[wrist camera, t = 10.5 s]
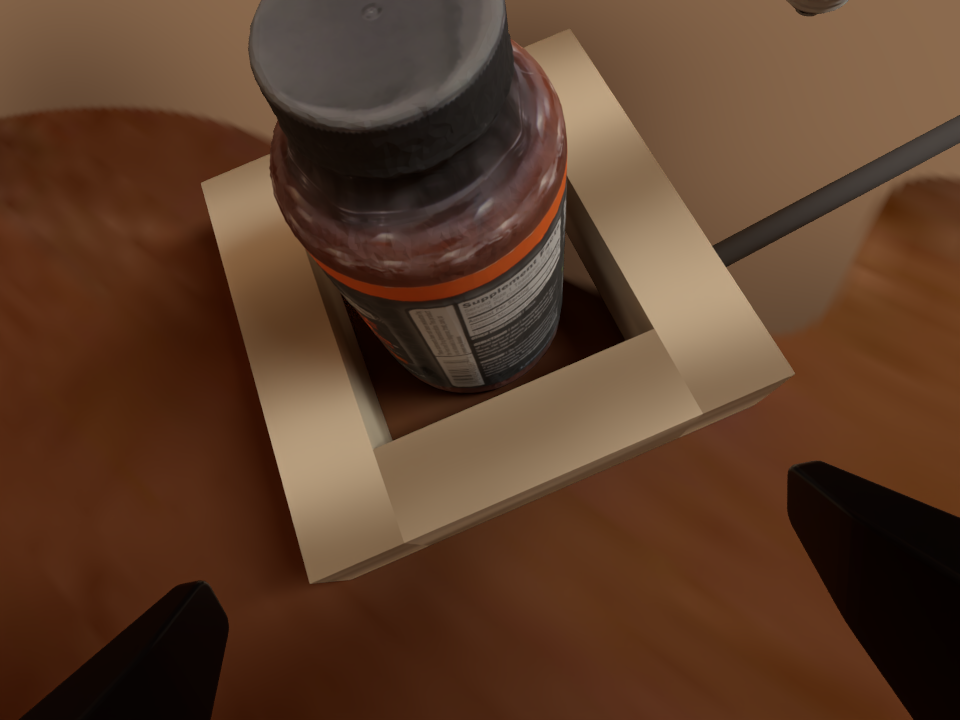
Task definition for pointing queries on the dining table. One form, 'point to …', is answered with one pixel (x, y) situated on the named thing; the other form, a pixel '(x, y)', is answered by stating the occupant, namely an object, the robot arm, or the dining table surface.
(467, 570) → the dining table surface
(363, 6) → the supplement bottle
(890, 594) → the robot arm
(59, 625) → the dining table surface
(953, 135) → the dark grey rod
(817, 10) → the light bulb
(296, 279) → the cream square shallow tray
